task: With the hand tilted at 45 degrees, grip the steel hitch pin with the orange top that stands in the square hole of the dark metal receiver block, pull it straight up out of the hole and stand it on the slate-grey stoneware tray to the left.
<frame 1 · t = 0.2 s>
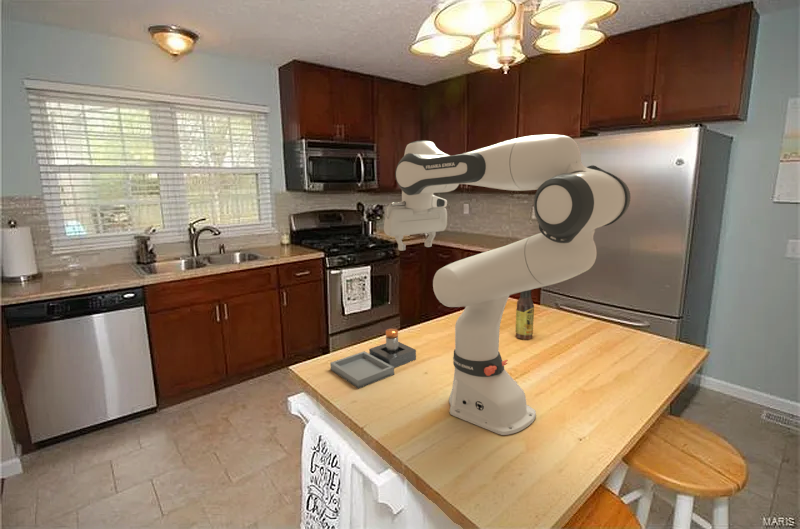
hand: (415, 248, 119), 39 cm above the worktop, tool pointing down, fingers open, 8 cm apart
receiver: (392, 359, 136), on the worktop
tray: (361, 372, 127), on the worktop
sauce bottle: (524, 337, 151), on the worktop
pin: (392, 345, 135), in the receiver
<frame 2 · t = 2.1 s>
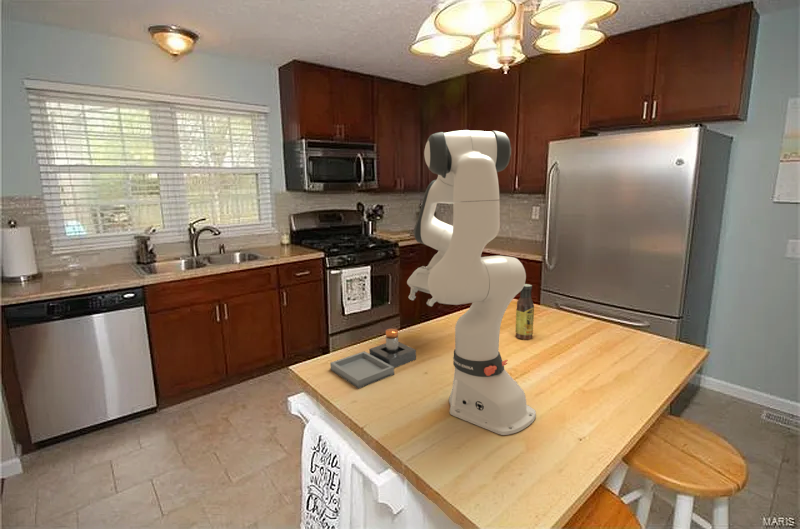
hand: (419, 302, 140), 17 cm above the worktop, tool tilted 45°, fingers open, 8 cm apart
nothing on the worktop moved.
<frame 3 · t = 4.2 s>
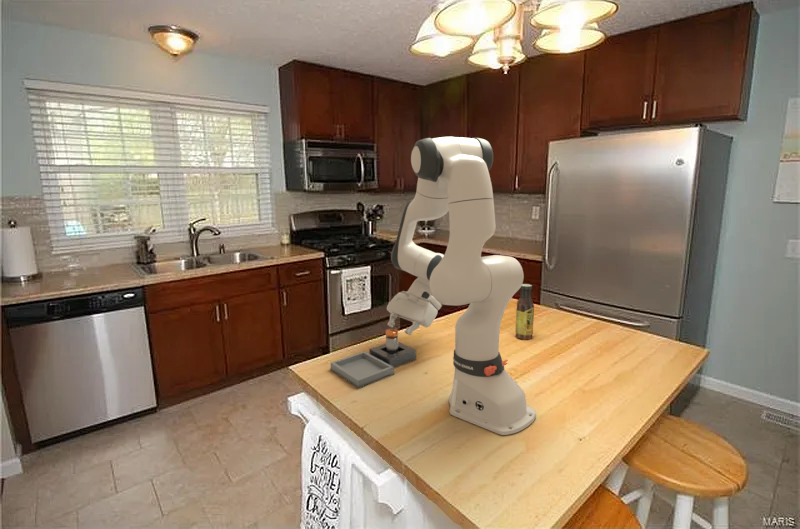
hand: (398, 329, 135), 10 cm above the worktop, tool tilted 45°, fingers open, 8 cm apart
nothing on the worktop moved.
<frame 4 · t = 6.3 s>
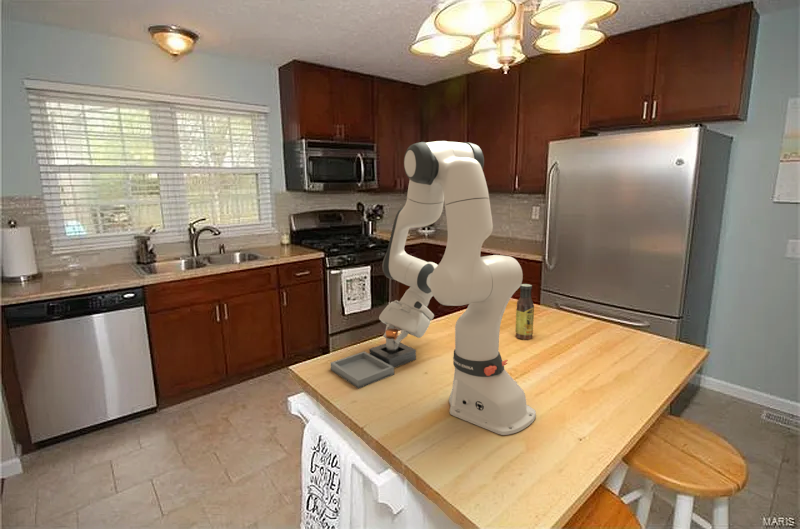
hand: (390, 340, 134), 7 cm above the worktop, tool tilted 45°, fingers closed on pin, 4 cm apart
pin: (392, 345, 135), in the receiver, touching gripper
everything else where it was.
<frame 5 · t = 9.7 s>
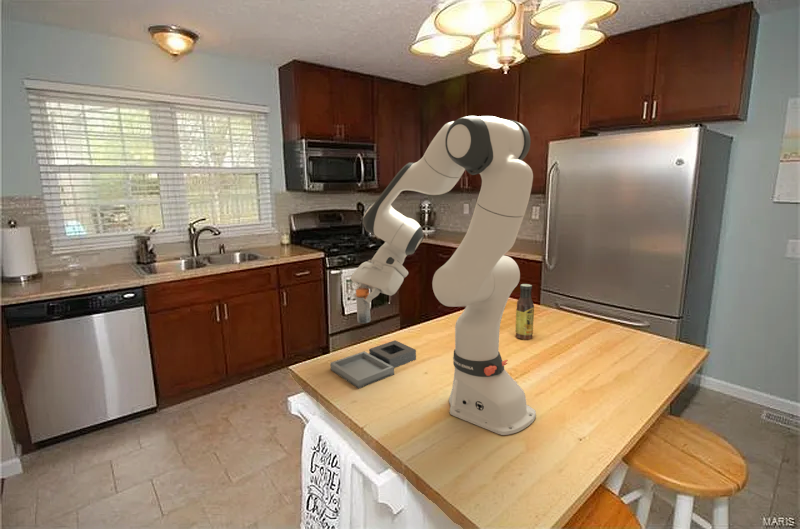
hand: (361, 299, 123), 23 cm above the worktop, tool tilted 45°, fingers closed on pin, 4 cm apart
pin: (363, 305, 124), point 21 cm above the worktop, touching gripper
everything else where it was.
when the fingers open (9 cm above the worktop, at t = 13.4 s): pin drops 1 cm, resting on tray.
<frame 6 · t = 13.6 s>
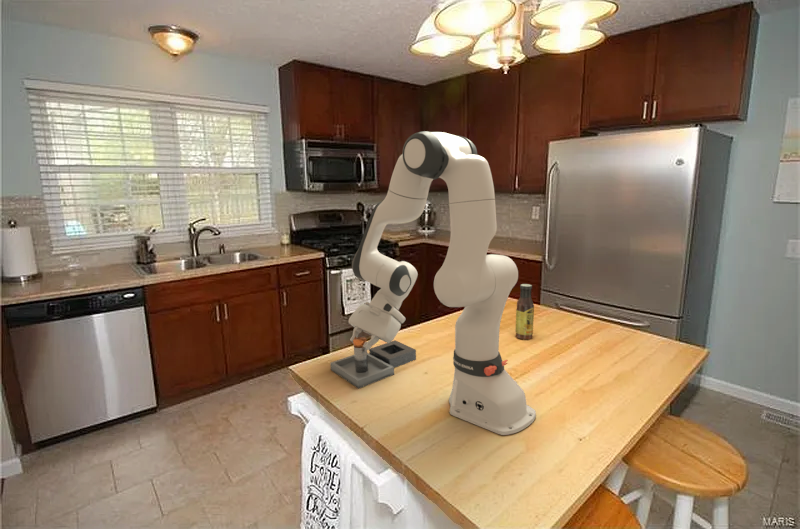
hand: (358, 345, 125), 9 cm above the worktop, tool tilted 45°, fingers open, 6 cm apart
pin: (360, 354, 126), in the tray, point 6 cm above the worktop
everything else where it was.
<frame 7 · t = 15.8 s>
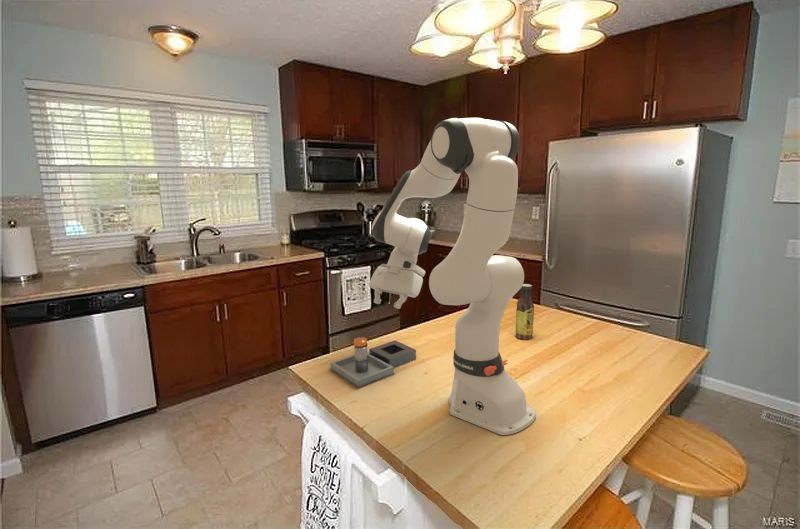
hand: (386, 305, 130), 19 cm above the worktop, tool tilted 35°, fingers open, 8 cm apart
nothing on the worktop moved.
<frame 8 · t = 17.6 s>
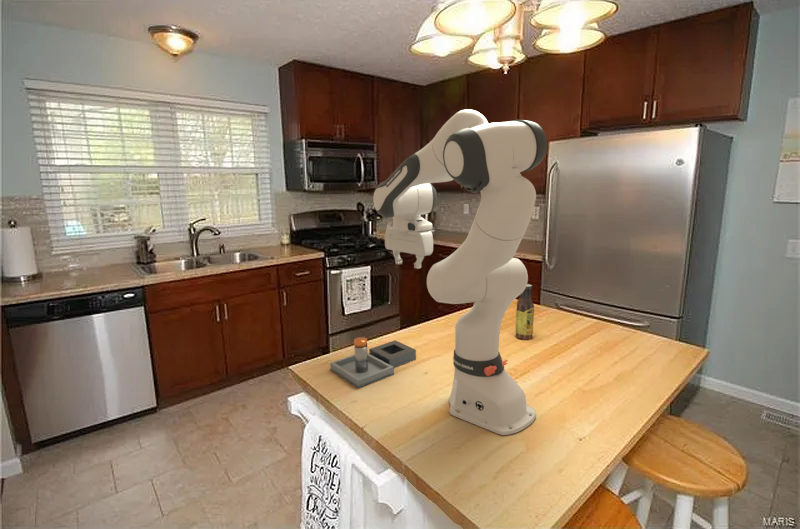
hand: (408, 266, 131), 31 cm above the worktop, tool pointing down, fingers open, 8 cm apart
nothing on the worktop moved.
at the end: pin inside the target area on the tray (0.1 cm from its centre), point 5.8 cm above the tray's base; pin tilted 0°; the gripper is holding nothing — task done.
